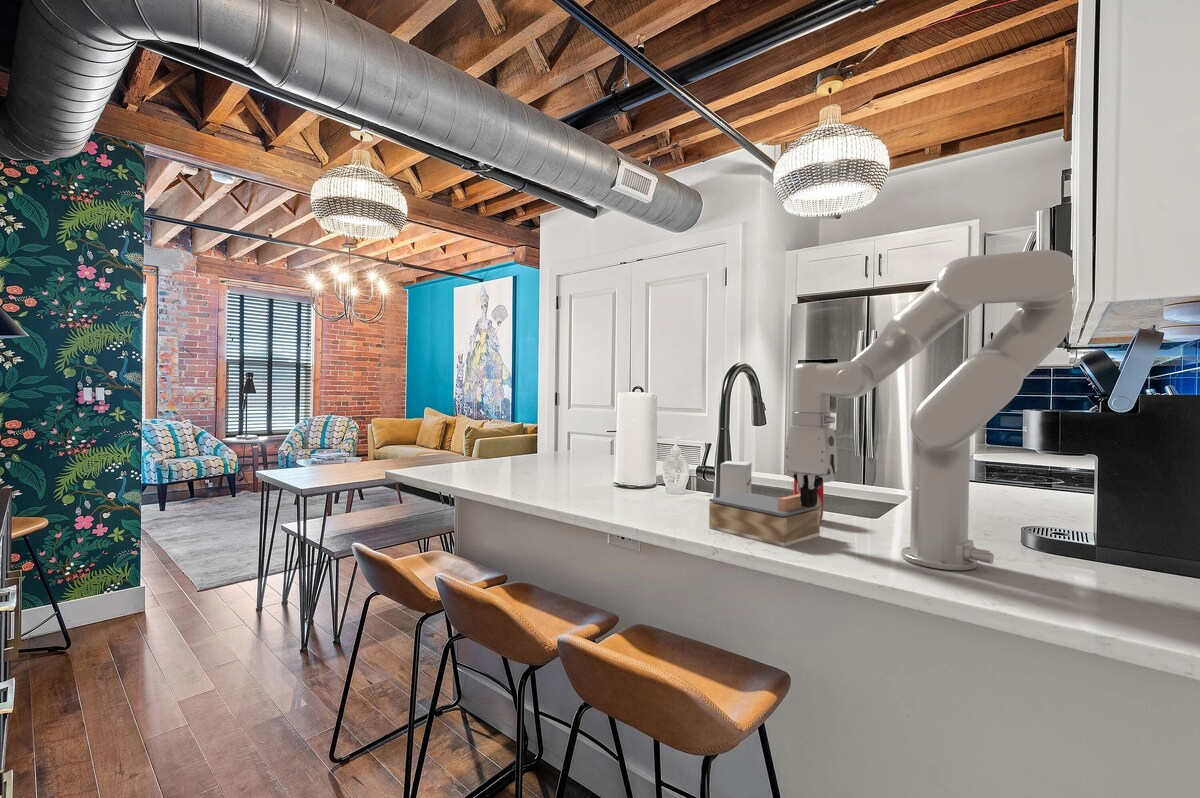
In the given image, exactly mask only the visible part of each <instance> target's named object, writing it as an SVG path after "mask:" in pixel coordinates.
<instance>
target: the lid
mask: <svg viewBox="0 0 1200 798" xmlns="http://www.w3.org/2000/svg"><path fill="white" fill-rule="evenodd" d="M708 500H709V501H708V503H711V502H714V503H719V504H724V505H729V506H734V507H739V508H744V509H748V510H753V511H758V512H763V513H768V514H773V515H778V516H783V517H786V516H790V515H794V514H798V513H802V512H806V511H810V510H814V509H818V508H820V505H816V506H814V507H810V508H807V507H802V506H801V500H800V494H797V495H793V494H791V495H787V496H784V497H783V496H782V497H775V496H774V497H773V496H769V495H763V494H759V493H753V492H751V493H747V492H745V493H739V494H734V495H728V496H723V497H720V496H719V497H712V498H709V499H708Z"/></svg>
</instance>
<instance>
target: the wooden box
mask: <svg viewBox="0 0 1200 798" xmlns="http://www.w3.org/2000/svg"><path fill="white" fill-rule="evenodd" d="M708 503H709V507H708V509H709V510H708V511H709V517H708V518H709V519H708V520H709V521H708V522H709V523H708V526H709V527H708V528H709V529H712V530H715V531H718V532H724V533H728V534H732V535H736V536H740V537H743V538H747V539H751V540H756V541H759V542H763V543H767V544H770V545H775V546H778V547H783V548H784V547H787V546H792V545H794V544H797V543H801V542H805V541H808V540H811V539H815V538H818V537H820V534H821V533H820V532H821V531H820V530H821V529H820V527H821V525H820V524H821V520H820V509H814V510H810V511H806V512H802V513H798V514H794V515H790V516H786V517H783V516H778V515H773V514H768V513H763V512H758V511H753V510H748V509H744V508H739V507H734V506H729V505H724V504H719V503H714V502H708Z"/></svg>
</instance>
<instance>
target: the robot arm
mask: <svg viewBox="0 0 1200 798" xmlns="http://www.w3.org/2000/svg"><path fill="white" fill-rule="evenodd" d="M1073 260H1074V258H1072V257H1071V256H1070V255H1069V254H1067V253H1065V252H1063V251H1059V250H1053V249H1039V250H1038V249H1036V250H1028V251H1027V250H1025V251H1016V252H1007V253H1005V252H1004V253H995V254H994V253H993V254H981V255H971V256H963V257H960V258H957V259H954V260H952V261H950V262H949V263H947V264H946V265H945V266H944V267H942V269H941V270H940V272H939V274H938V276H937V279H936V280H935V281H933V282H932V283H931V284H930V285H928V287H926V288H925V289H924V290H923V291H921V293H919V294H918V295H917V296H915V298H913V299H912V300H911V301H910V302H909V303H907V304H906V305H905V306H903V307H902V308H901V309H900V310H899V311H897V312H896V313H894V315H893V316H892V317H891V318H890V319H889V320H888V322H887V323H886V325H885V327H884V328H883V330H882V331H881V333H880V334H879V335H878V336H877V338H875V339H874V340H873V341H872V342H871V343H870V344H869V345H868V346H867V347H866V348H865V349H864V350H862V351H861V352H860V353H859V354H857V356H855V357H854V358H852V359H851V360H850V361H847V360H846V361H838V362H832V363H823V362H800V363H797V364H796V365H794V367H793V371H792V402H791V403H792V405H791V406H792V407H791V411H792V412H791V425H790V426H789V427H788V431H787V436H786V440H785V441H786V442H785V449H784V468H785V475H786V476H787V477H789V478H791V479H793V480H794V479H795V480H796V482H797V483H798V486H799V487H800V488H801V494H800V500H801V506H802V507H807V508H810V507H814V506H816V503H817V488H819V487H820V486H821V485H822V484H823V485H824V483H831V482H834V481H835V475H834V474H836V473H837V472H838V450H837V449H838V448H837V440H836V435H835V431H834V428H832V427H830V426H831V424H834V423H835V422H836V417H835V416H831V413H830V409H831V408H830V407H831V397H836V398H843V399H854V398H860V397H863V396H866V394H869V392H871V390H874V388H876V387H877V386H878V385H879V384H880V383H882V382H883V381H885V380H886V379H887V378H888V377H889V376H891V375H893V374H894V372H896V371H897V370H898V369H899V368H901V367H902V366H903V365H904V364H906V363H907V362H908V361H909V360H911V359H913V358H914V357H916V356H917V355H919V354H920V353H921V352H922V351H923V350H924V349H925V348H928V346H929V345H930V344H932V343H933V342H934V341H935V340H936V339H938V338H939V337H940V336H941V335H942V334H944V333H946V332H947V331H948V330H949V329H950V328H952V327H953V326H954V325H956V324H957V323H958V322H959V321H961V320H962V319H964V317H966V316H967V315H969V313H971V312H972V311H973V310H974V309H976V308H977V307H978V306H979V305H981V304H1007V303H1009V304H1010V303H1015V305H1016V309H1015V312H1014V314H1013V316H1012V317H1011V319H1010V320H1008V322H1007V323H1006V324H1005V325H1003V327H1002V328H1001V329H1000V330H999V331H998V332H997V333H996V335H994V336H993V337H992V338H991V339H990V340H989V341H988V342H987V343H986V344H985V345H984V346H983V347H982V348H980V349H979V351H977V352H975V353H974V354H972V355H969V357H967V358H966V359H965V360H964V361H963V362H961V364H960V365H958V367H957V368H955V369H954V370H953V372H952V373H950V374H949V376H948V377H946V378H945V379H944V380H943V381H942V382H941V383H940V384H939V385H938V386H937V387H936V388H935V389H934V390H933V391H932V392H931V393H930V394H929V395H928V396H927V397H926V398H925V399H923V400H922V401H921V403H919V404H918V405H917V406H916V408H915V409H914V410H913V412H912V414H911V415H910V416H911V418H910V431H911V433H912V440H911V441H912V442H911V443H912V447H911V448H912V450H911V479H910V480H911V482H910V483H911V490H910V491H911V493H910V496H911V497H910V537H909V538H910V540H909V541H910V543H909V544H910V545H909V546H906V547H902V549H901V551H900V552H901V553H900V556H901V557H902V558H903V559H904V560H906V561H907V562H910V563H913V564H915V565H918V566H922V567H928V568H932V569H937V570H938V569H939V570H943V571H944V570H945V571H946V570H947V571H970V570H974V569H975V568H978V561H979V562H981V563H986V564H989V565H990V564H991V565H992V564H993V563H994V560H995V555H994V553H993V552H991V550H986V549H981V548H977V547H976V546H974V540H973V539H969V507H970V505H969V502H970V501H969V499H970V498H969V496H970V475H971V473H970V466H971V465H970V464H971V463H970V460H971V459H970V458H971V455H970V454H971V452H970V451H971V448H970V447H971V445H970V444H971V437H973V435H974V434H976V433H977V432H978V431H979V430H980V429H981V428H982V427H983V426H985V425H986V424H987V423H988V422H989V421H990V420H991V419H993V417H994V416H996V415H997V414H998V413H999V412H1000V411H1001V410H1002V409H1004V408H1005V407H1006V406H1007V405H1008V404H1009V403H1010V402H1011V401H1012V400H1013V399H1014V398H1015V397H1016V396H1017V395H1018V393H1019V392H1020V390H1021V388H1022V386H1023V383H1024V379H1026V378H1027V376H1028V375H1030V374H1031V373H1032V372H1033V371H1034V370H1035V369H1036V368H1038V367H1039V365H1040V364H1041V363H1042V362H1043V361H1044V360H1045V359H1046V358H1048V356H1049V355H1051V353H1052V352H1053V351H1054V350H1055V349H1056V348H1057V347H1058V346H1059V345H1060V344H1061V343H1062V342H1063V341H1064V339H1065V338H1066V336H1067V335H1068V333H1069V332H1070V329H1071V327H1072V324H1073V321H1074V315H1075V312H1074V313H1073V310H1072V304H1073V301H1074V298H1073V294H1072V290H1073V289H1074V288H1075V286H1074V275H1073ZM809 474H810V478H809Z"/></svg>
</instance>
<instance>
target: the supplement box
mask: <svg viewBox="0 0 1200 798" xmlns="http://www.w3.org/2000/svg"><path fill="white" fill-rule="evenodd" d="M752 464H753V463H752V461H751V462H750V461H738V460H737V461H735V460H726V461H724V462H721V463H720V467H719V468H720V472H719V473H720V477H719V481H720V482H719V497H723V496H728V495H734V494H739V493H745V492H747V493H752Z"/></svg>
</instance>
